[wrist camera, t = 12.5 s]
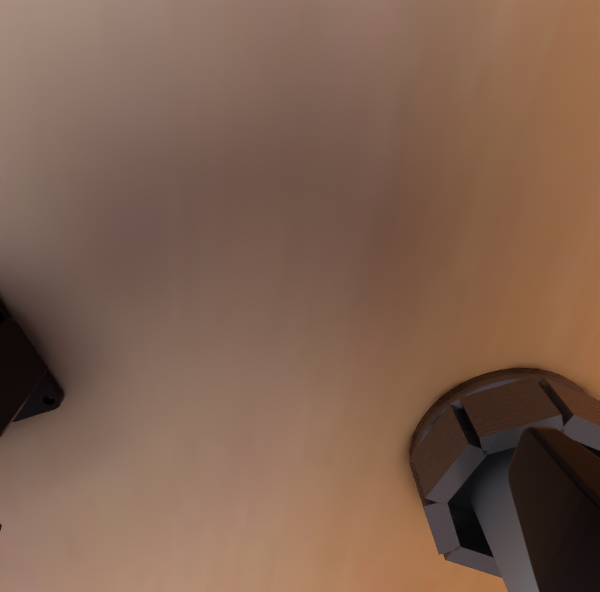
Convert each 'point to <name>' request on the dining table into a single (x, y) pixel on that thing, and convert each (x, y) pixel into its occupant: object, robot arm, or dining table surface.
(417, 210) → the dining table surface
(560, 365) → the dining table surface
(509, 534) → the peg
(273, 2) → the dining table surface
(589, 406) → the socket collar
